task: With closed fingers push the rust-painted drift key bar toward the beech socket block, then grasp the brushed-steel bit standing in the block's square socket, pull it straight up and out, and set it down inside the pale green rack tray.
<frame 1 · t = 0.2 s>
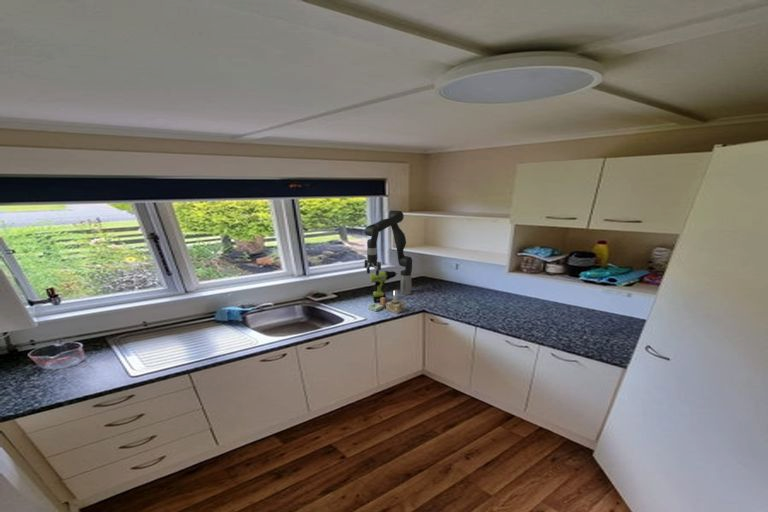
hand: (372, 274, 232), 28 cm above the countertop, fingers open, 8 cm apart
drift key: (383, 302, 241), point 4 cm above the countertop, slide at 0.0 cm
steel bit: (395, 300, 233), in the socket block
socket block: (395, 310, 234), on the countertop
cordless drill: (384, 300, 254), on the countertop
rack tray: (375, 308, 238), on the countertop
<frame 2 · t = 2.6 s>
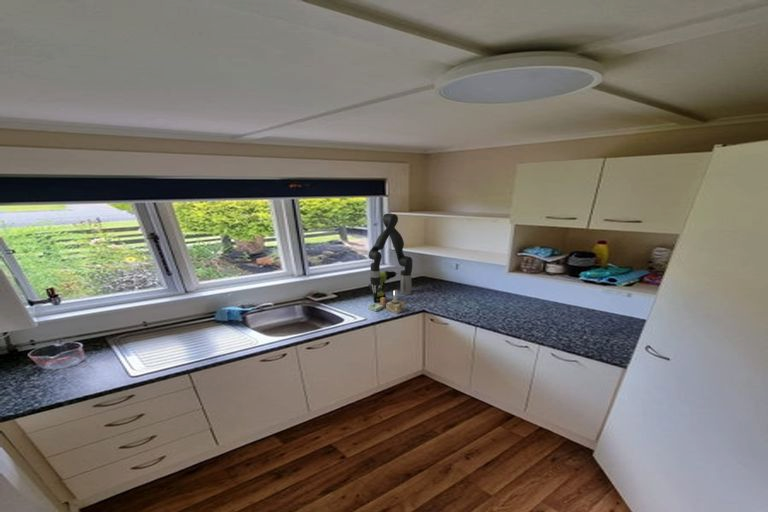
hand: (375, 296, 245), 7 cm above the countertop, fingers closed
nothing on the countertop moved.
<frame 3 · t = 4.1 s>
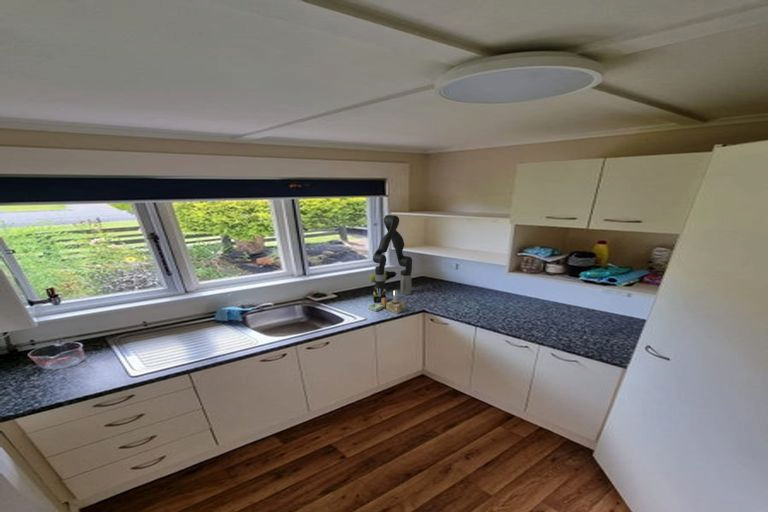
hand: (380, 300, 242), 5 cm above the countertop, fingers closed
drift key: (384, 302, 240), point 4 cm above the countertop, slide at 1.0 cm, touching gripper
everything else where it was.
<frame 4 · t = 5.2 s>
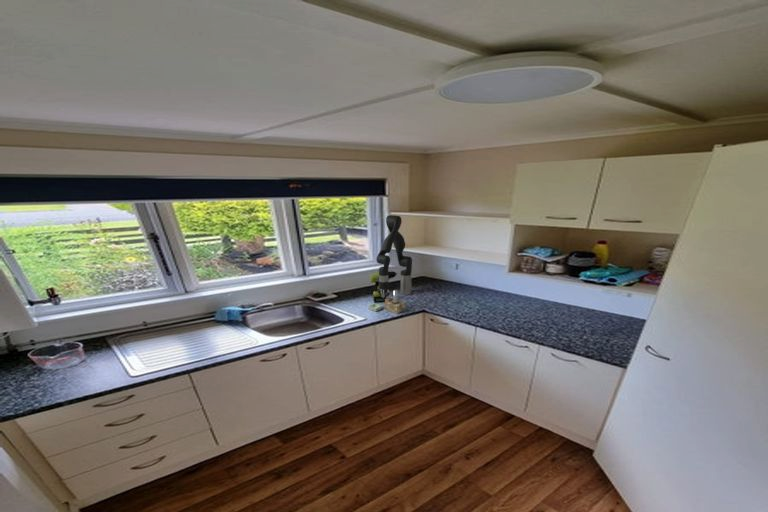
hand: (383, 301, 240), 5 cm above the countertop, fingers closed
drift key: (387, 303, 238), point 4 cm above the countertop, slide at 4.7 cm, touching gripper
everything else where it was.
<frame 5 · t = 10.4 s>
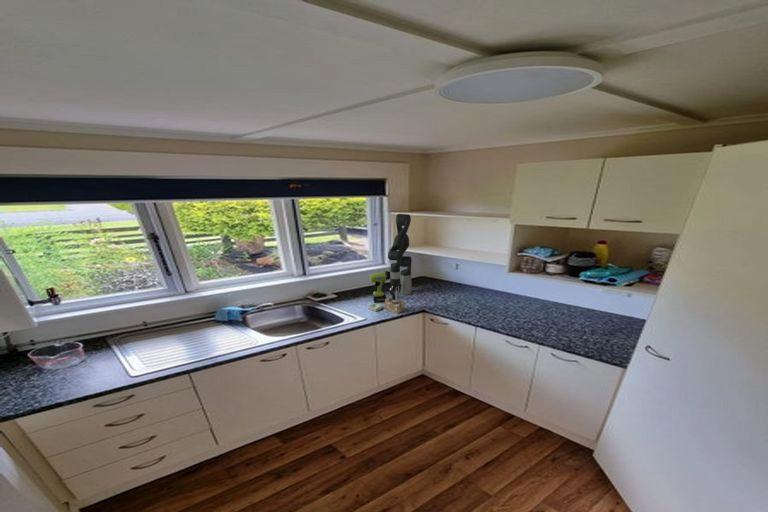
hand: (395, 298, 232), 9 cm above the countertop, fingers closed on steel bit, 3 cm apart
drift key: (387, 303, 238), point 4 cm above the countertop, slide at 4.7 cm
steel bit: (395, 300, 233), in the socket block, touching gripper
everything else where it was.
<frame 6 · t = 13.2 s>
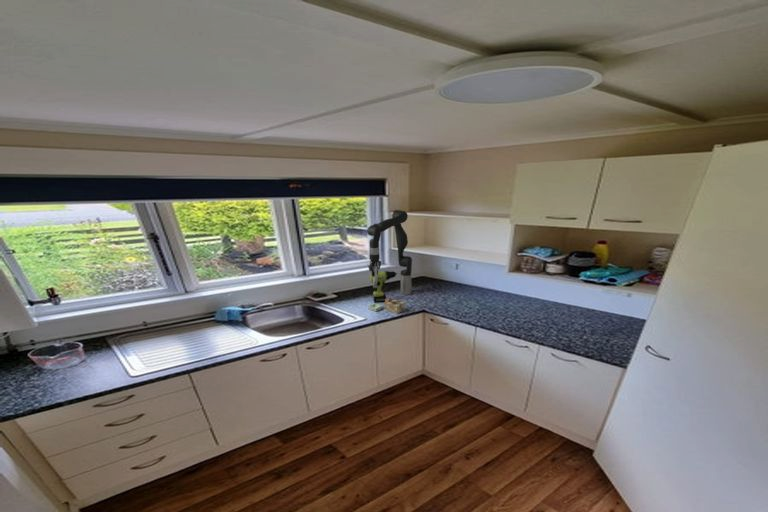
hand: (374, 275, 232), 27 cm above the countertop, fingers closed on steel bit, 3 cm apart
steel bit: (374, 277, 232), point 26 cm above the countertop, touching gripper
everything else where it was.
when the fingers open (11 cm above the countertop, at t = 15.9 s): steel bit drops 1 cm, resting on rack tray.
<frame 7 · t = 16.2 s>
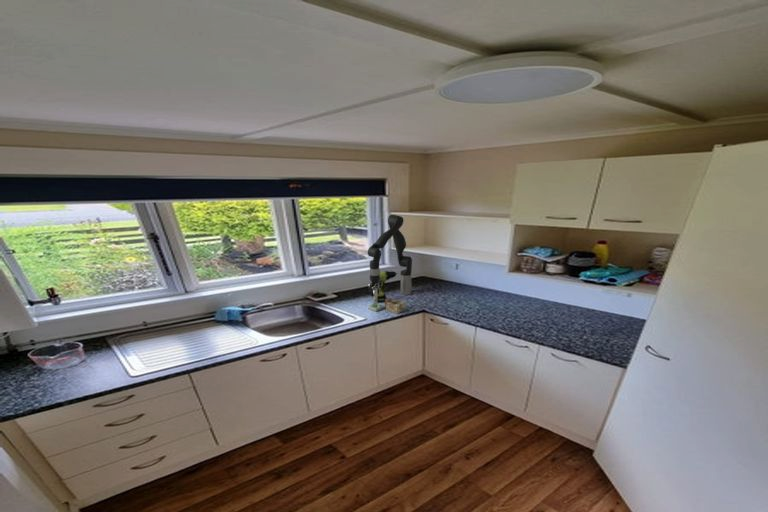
hand: (375, 295, 235), 11 cm above the countertop, fingers open, 6 cm apart
steel bit: (375, 298, 236), in the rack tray, point 9 cm above the countertop
everything else where it was.
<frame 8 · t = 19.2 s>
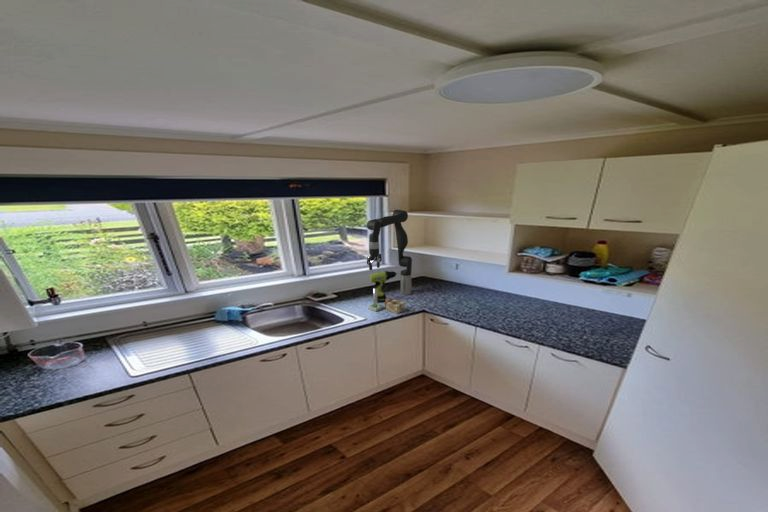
hand: (374, 268, 230), 32 cm above the countertop, fingers open, 8 cm apart
nothing on the countertop moved.
at the end: steel bit 0.1 cm off-centre on the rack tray, point 8.6 cm above the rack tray's base; drift key slide at 4.7 cm; the gripper is holding nothing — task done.
